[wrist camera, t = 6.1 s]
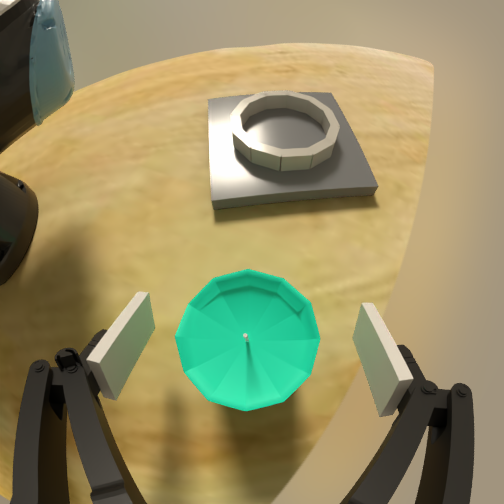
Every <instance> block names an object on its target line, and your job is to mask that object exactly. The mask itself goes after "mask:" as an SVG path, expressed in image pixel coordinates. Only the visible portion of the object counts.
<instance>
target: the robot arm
mask: <svg viewBox="0 0 504 504" xmlns="http://www.w3.org/2000/svg"><path fill="white" fill-rule="evenodd" d="M74 84H75V81H74V72H73V66H72V60H71V54H70V49H69V44H68V39H67V34H66V29H65V24H64V20H63V15H62V12H61V9H60V6H59V1H58V0H40V1H39V0H0V154H1V153H2V152H3V151H5V150H6V149H7V148H8V147H9V146H10V145H12V144H13V143H14V142H15V141H17V140H18V139H19V138H20V137H22V136H23V135H24V134H26V133H27V132H28V131H30V130H31V129H32V128H34V127H35V126H36V125H37V126H39V125H41V124H42V122H43V120H44V119H46V118H47V117H48V116H50V115H51V114H52V113H54V112H55V111H57V110H58V109H59V108H61V107H62V106H64V105H65V104H66V103H67V102H68V101H69V100H70V98H71V96H72V94H73V91H74ZM37 216H38V201H37V197H36V195H35V193H34V192H33V191H32V190H31V189H30V188H29V187H28V185H27V184H26V183H24V182H23V181H21V180H19V179H17V178H14V177H12V176H10V175H7V174H5V173H3V172H1V171H0V285H2V284H3V283H4V282H5V281H6V280H7V279H8V278H9V277H10V276H11V275H12V274H13V273H14V271H15V270H16V268H17V267H18V265H19V264H20V262H21V260H22V259H23V257H24V255H25V253H26V251H27V249H28V246H29V244H30V241H31V239H32V236H33V233H34V230H35V226H36V222H37ZM154 329H155V324H154V319H153V313H152V308H151V302H150V296H149V293H148V292H137V294H136V295H135V296H134V297H133V299H132V300H131V301H130V302H129V304H128V305H127V306H126V307H125V309H124V310H123V311H122V313H121V314H120V315H119V316H118V318H117V319H116V320H115V322H114V323H113V324H112V325H111V327H110V328H109V329H108V330H104V329H103V330H101V331H100V332H98V333H97V334H96V335H95V336H94V337H93V338H92V341H90V342H89V344H88V345H87V346H86V347H85V349H84V350H83V351H82V353H81V354H80V355H78V353H77V351H76V350H75V349H73V348H64V349H62V350H60V351H59V352H57V354H56V355H55V361H56V363H57V365H58V367H50V365H49V363H48V361H46V360H37V361H35V362H34V363H33V364H32V365H31V366H30V369H29V372H28V376H27V380H26V384H25V389H24V393H23V398H22V402H21V408H20V413H19V419H18V425H17V432H16V440H15V449H14V461H13V495H12V498H11V502H10V504H70V501H69V492H68V480H67V462H66V424H67V410H68V415H69V419H70V423H71V427H72V431H73V435H74V438H75V442H76V445H77V449H78V452H79V455H80V458H81V461H82V464H83V467H84V470H85V473H86V476H87V478H88V481H89V483H90V486H91V489H92V492H91V493H90V496H91V499H92V502H93V504H147V503H146V502H145V500H144V498H143V497H142V495H141V493H140V491H139V489H138V488H137V486H136V484H135V482H134V480H133V478H132V476H131V474H130V472H129V470H128V468H127V466H126V464H125V462H124V460H123V458H122V456H121V453H120V451H119V449H118V447H117V444H116V442H115V440H114V437H113V435H112V432H111V430H110V427H109V425H108V422H107V419H106V417H105V414H104V411H103V408H102V405H101V402H100V399H99V397H98V393H99V391H100V390H101V392H102V394H103V396H104V397H105V398H109V399H112V400H117V398H118V396H119V394H120V392H121V390H122V388H123V386H124V384H125V382H126V381H127V379H128V377H129V375H130V373H131V371H132V369H133V367H134V366H135V364H136V362H137V360H138V358H139V356H140V354H141V353H142V351H143V349H144V347H145V345H146V344H147V342H148V340H149V338H150V336H151V335H152V333H153V331H154ZM353 341H354V344H355V346H356V349H357V352H358V355H359V357H360V360H361V363H362V366H363V369H364V371H365V374H366V377H367V380H368V383H369V386H370V389H371V392H372V395H373V398H374V401H375V404H376V407H377V410H378V414H379V417H383V416H389V415H393V414H394V412H395V410H396V409H398V411H399V415H398V416H397V418H396V419H395V421H394V422H393V424H392V427H391V429H390V431H389V433H388V434H387V436H386V438H385V440H384V441H383V443H382V445H381V446H380V448H379V449H378V451H377V453H376V454H375V456H374V457H373V459H372V460H371V462H370V463H369V465H368V466H367V468H366V469H365V471H364V472H363V474H362V475H361V477H360V478H359V479H358V481H357V482H356V483H355V485H354V486H353V488H352V489H351V490H350V492H349V493H348V494H347V495H346V497H345V498H344V499H343V500H342V502H341V503H340V504H387V503H388V502H389V500H390V499H391V497H392V496H393V494H394V492H395V490H396V489H397V487H398V485H399V484H400V482H401V480H402V478H403V476H404V474H405V473H406V471H407V469H408V467H409V465H410V463H411V461H412V459H413V457H414V455H415V452H416V450H417V448H418V446H419V444H420V442H421V439H422V437H423V434H424V432H425V430H426V427H427V426H429V431H428V440H427V447H426V454H425V460H424V465H423V471H422V476H421V480H420V485H419V489H418V493H417V497H416V501H415V504H469V503H470V496H471V488H472V478H473V465H474V414H473V399H472V392H471V390H470V388H469V387H468V386H467V385H465V384H462V383H457V384H455V385H454V386H453V387H452V388H451V390H443V389H438V387H437V386H436V385H435V384H434V383H433V382H431V381H428V380H426V379H425V377H424V375H423V373H422V372H421V370H420V368H419V366H418V364H417V363H416V361H415V359H414V358H413V355H412V353H411V352H410V350H409V349H408V348H407V347H405V346H404V345H396V343H395V342H394V340H393V338H392V336H391V334H390V332H389V331H388V329H387V327H386V325H385V323H384V322H383V320H382V318H381V316H380V315H379V313H378V311H377V309H376V308H375V306H374V304H373V303H361V307H360V311H359V315H358V319H357V323H356V327H355V331H354V334H353Z"/></svg>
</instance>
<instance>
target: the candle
mask: <svg viewBox="0 0 504 504" xmlns="http://www.w3.org/2000/svg"><path fill="white" fill-rule="evenodd" d="M175 339H176V343H177V347H178V351H179V355H180V359H181V363H182V367H183V371H184V373H185V374H186V375H187V377H188V378H189V379H190V380H191V381H192V383H193V384H194V385H195V386H196V387H197V389H198V390H199V391H200V392H201V393H202V394H203V395H204V397H205V398H206V399H207V400H208V401H211V402H214V403H218V404H221V405H224V406H228V407H231V408H235V409H239V410H243V411H250V410H254V409H258V408H262V407H266V406H270V405H274V404H278V403H282V402H284V401H285V400H286V399H287V398H288V397H289V396H290V395H291V394H292V393H293V392H294V391H295V390H296V389H297V388H298V387H299V386H300V385H301V384H302V383H303V382H304V381H305V380H306V379H307V378H308V377H309V376H310V375H311V372H312V368H313V365H314V361H315V357H316V354H317V350H318V346H319V342H320V335H319V331H318V327H317V323H316V320H315V316H314V312H313V308H312V305H311V302H310V301H309V300H308V299H306V298H305V297H304V296H303V295H302V294H301V293H300V292H298V291H297V290H296V289H295V288H294V287H293V286H292V285H290V284H289V283H288V282H287V281H286V280H285V279H284V278H280V277H276V276H273V275H269V274H265V273H261V272H258V271H254V270H250V269H246V270H242V271H238V272H235V273H231V274H227V275H223V276H219V277H215V278H213V279H212V280H211V281H210V282H209V283H208V284H207V285H206V286H205V287H204V288H203V289H202V290H201V291H200V292H199V293H198V294H197V295H196V296H195V297H194V298H193V299H192V300H191V301H190V303H189V304H188V305H187V308H186V310H185V313H184V315H183V317H182V320H181V322H180V325H179V327H178V330H177V332H176V335H175Z"/></svg>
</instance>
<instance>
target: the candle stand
mask: <svg viewBox="0 0 504 504" xmlns="http://www.w3.org/2000/svg"><path fill="white" fill-rule="evenodd" d="M208 121H209V156H210V181H211V201H212V205H213V209H214V210H216V209H224V208H232V207H240V206H249V205H258V204H267V203H277V202H287V201H298V200H310V199H322V198H335V197H349V196H365V195H374V193H375V191H376V190H377V188H378V185H377V182H376V180H375V178H374V175H373V173H372V171H371V168H370V166H369V164H368V162H367V160H366V158H365V155H364V153H363V151H362V149H361V147H360V145H359V143H358V141H357V139H356V137H355V135H354V133H353V131H352V129H351V127H350V126H349V124H348V122H347V120H346V118H345V116H344V114H343V113H342V111H341V109H340V107H339V105H338V104H337V102H336V100H335V99H334V97H333V95H332V93H319V92H293V91H288V90H286V91H264V92H260V93H258V94H252V95H240V96H230V97H222V98H214V99H208Z"/></svg>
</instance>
